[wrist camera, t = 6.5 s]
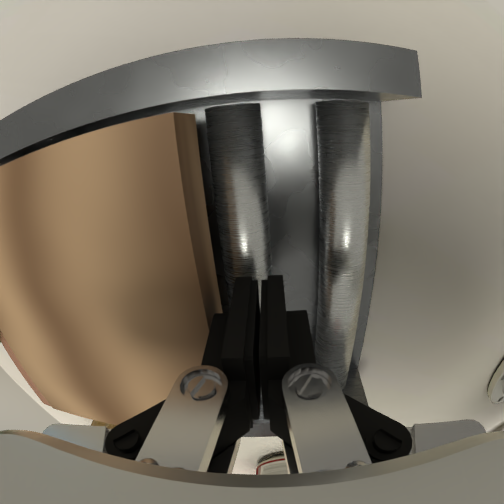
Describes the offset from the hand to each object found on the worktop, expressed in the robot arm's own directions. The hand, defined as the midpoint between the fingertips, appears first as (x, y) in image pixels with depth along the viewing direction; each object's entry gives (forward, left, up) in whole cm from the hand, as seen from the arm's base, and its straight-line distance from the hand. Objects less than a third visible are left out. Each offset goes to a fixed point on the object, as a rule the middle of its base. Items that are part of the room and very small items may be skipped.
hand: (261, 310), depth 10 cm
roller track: (+5, 0, -4) cm, 6 cm away
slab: (+8, 0, -1) cm, 8 cm away
